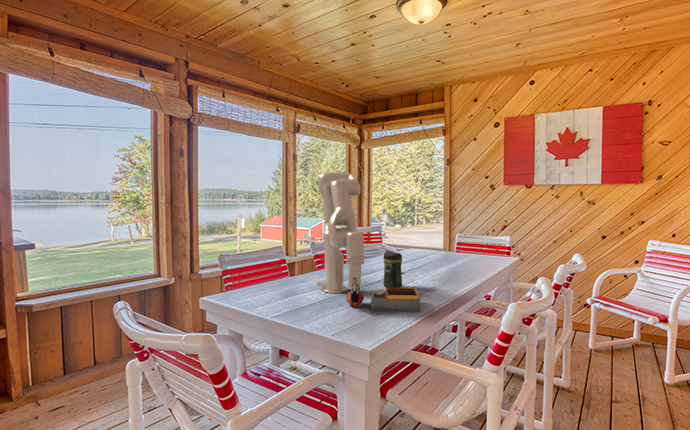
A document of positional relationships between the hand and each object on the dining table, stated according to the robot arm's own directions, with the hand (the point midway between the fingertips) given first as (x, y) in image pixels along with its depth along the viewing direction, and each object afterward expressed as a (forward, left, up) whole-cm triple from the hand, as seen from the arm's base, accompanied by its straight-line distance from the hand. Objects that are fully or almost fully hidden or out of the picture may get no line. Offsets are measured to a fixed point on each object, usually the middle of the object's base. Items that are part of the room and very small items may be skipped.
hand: (355, 299), depth 151 cm
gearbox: (+17, +1, -3) cm, 17 cm away
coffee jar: (+18, +34, -3) cm, 38 cm away
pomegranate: (0, +1, -3) cm, 3 cm away
